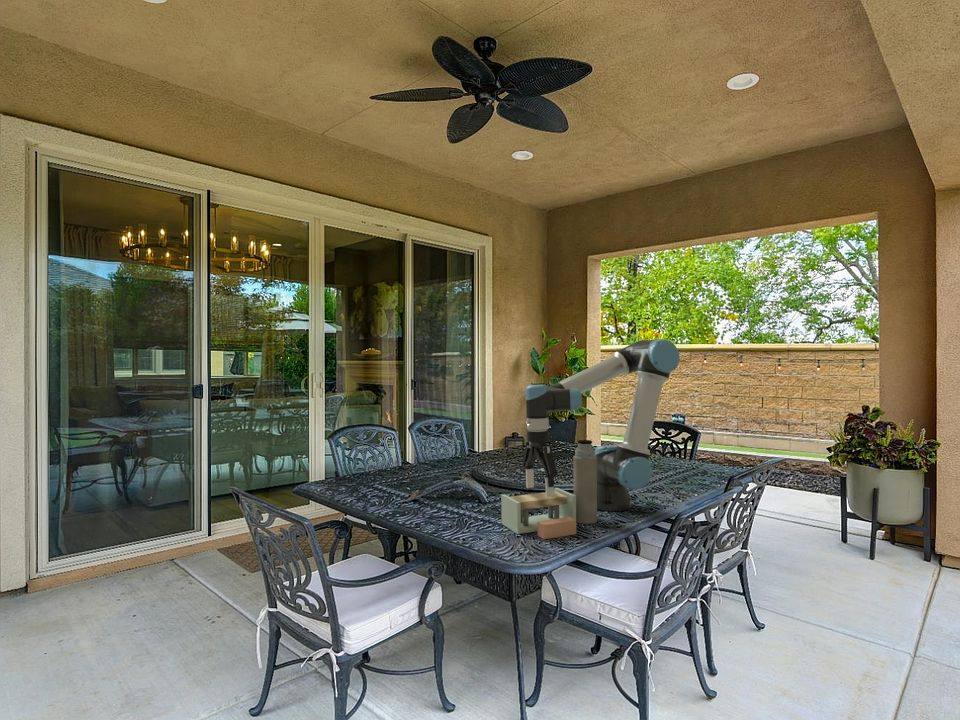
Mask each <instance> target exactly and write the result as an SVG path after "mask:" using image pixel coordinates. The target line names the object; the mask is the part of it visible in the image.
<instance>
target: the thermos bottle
mask: <svg viewBox="0 0 960 720" xmlns="http://www.w3.org/2000/svg"><path fill="white" fill-rule="evenodd" d="M577 443H578V444H577V448H575V451H574V454H575V455H573V456H572V457H573V460H572V461H573V495H576V523H577V524H578V523H579V524H587V525H589V524H595V523H597V522H598V509H597V457H596V456H595V449H593V445H592V444H593V441H592V440H591V439H590V440H589V439H578V440H577Z"/></svg>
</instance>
